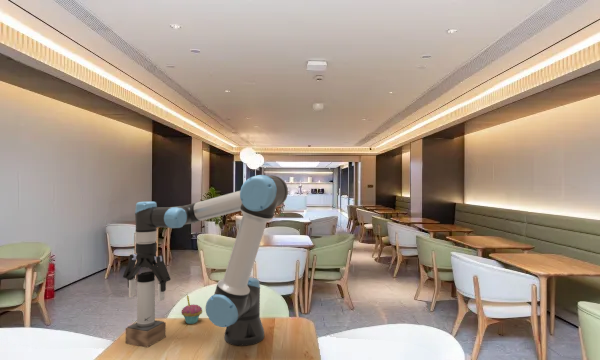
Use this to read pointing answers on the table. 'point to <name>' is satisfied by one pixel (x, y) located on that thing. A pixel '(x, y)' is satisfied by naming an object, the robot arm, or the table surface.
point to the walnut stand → (145, 334)
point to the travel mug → (145, 299)
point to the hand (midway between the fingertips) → (146, 298)
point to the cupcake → (191, 312)
